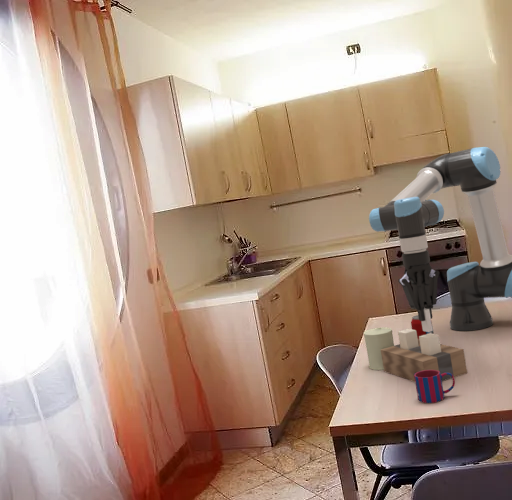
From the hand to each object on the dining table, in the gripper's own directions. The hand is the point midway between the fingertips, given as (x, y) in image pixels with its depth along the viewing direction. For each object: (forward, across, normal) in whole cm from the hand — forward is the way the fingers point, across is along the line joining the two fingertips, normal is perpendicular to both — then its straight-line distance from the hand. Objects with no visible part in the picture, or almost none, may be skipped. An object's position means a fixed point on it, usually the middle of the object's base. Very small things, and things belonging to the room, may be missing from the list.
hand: (427, 330), depth 180 cm
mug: (+14, +11, +15) cm, 23 cm away
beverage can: (+14, -14, -24) cm, 31 cm away
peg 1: (+8, 0, -11) cm, 14 cm away
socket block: (+13, 0, -6) cm, 15 cm away
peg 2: (+9, 0, 0) cm, 9 cm away
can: (+14, +4, -22) cm, 26 cm away
